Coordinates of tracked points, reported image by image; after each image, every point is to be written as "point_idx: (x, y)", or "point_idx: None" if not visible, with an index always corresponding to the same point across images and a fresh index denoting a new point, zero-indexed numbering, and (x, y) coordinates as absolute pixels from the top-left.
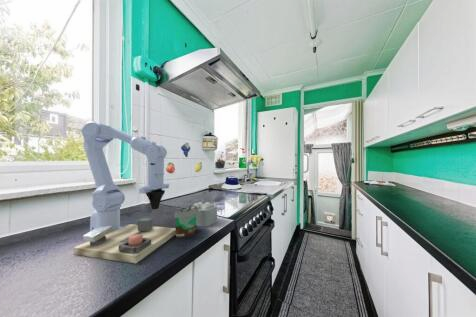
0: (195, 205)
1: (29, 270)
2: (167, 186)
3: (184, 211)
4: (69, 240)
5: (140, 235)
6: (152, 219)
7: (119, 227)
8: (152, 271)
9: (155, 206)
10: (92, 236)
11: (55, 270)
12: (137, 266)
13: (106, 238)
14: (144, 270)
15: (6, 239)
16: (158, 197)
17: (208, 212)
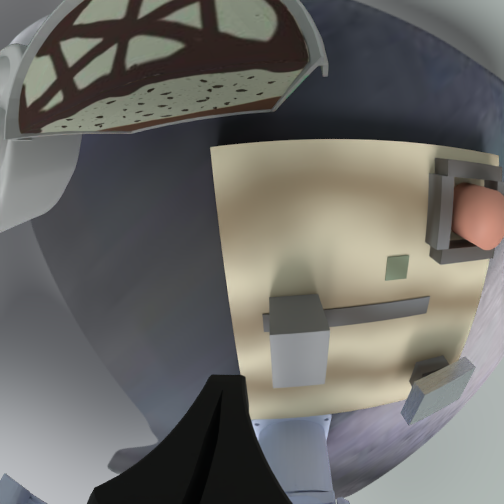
0: (22, 60)
1: (481, 370)
2: (12, 499)
3: None
4: (362, 444)
5: (484, 207)
6: (272, 331)
7: (267, 428)
8: (487, 78)
9: (246, 399)
10: (471, 372)
11: (492, 330)
12: (488, 137)
13: (396, 378)
14: (492, 104)
15: (357, 490)
16: (228, 472)
17: (27, 46)
